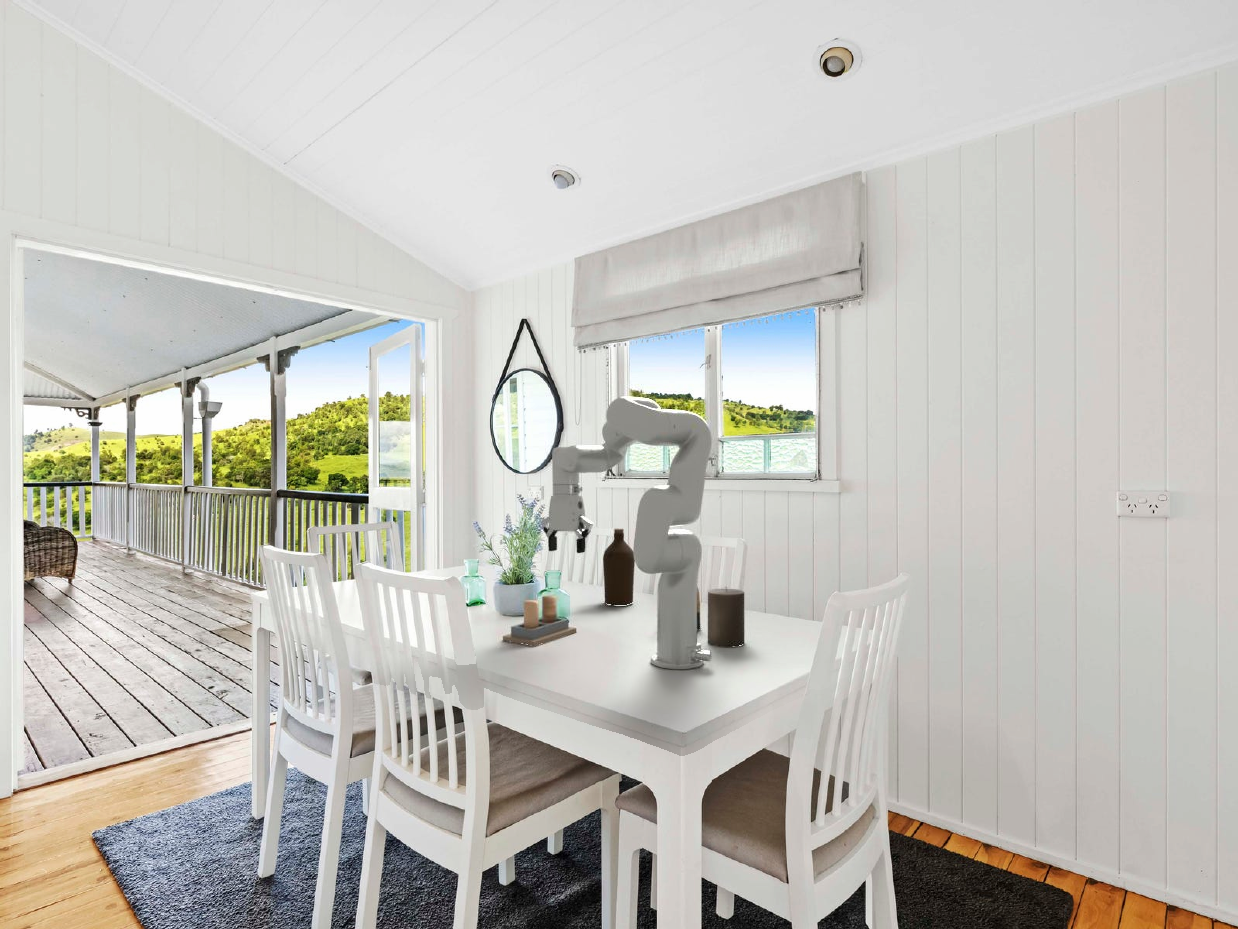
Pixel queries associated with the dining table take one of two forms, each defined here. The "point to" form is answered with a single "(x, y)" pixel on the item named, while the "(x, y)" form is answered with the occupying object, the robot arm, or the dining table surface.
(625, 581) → the olive oil
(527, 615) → the housing
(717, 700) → the dining table surface
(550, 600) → the switch lever
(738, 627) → the pillar candle
